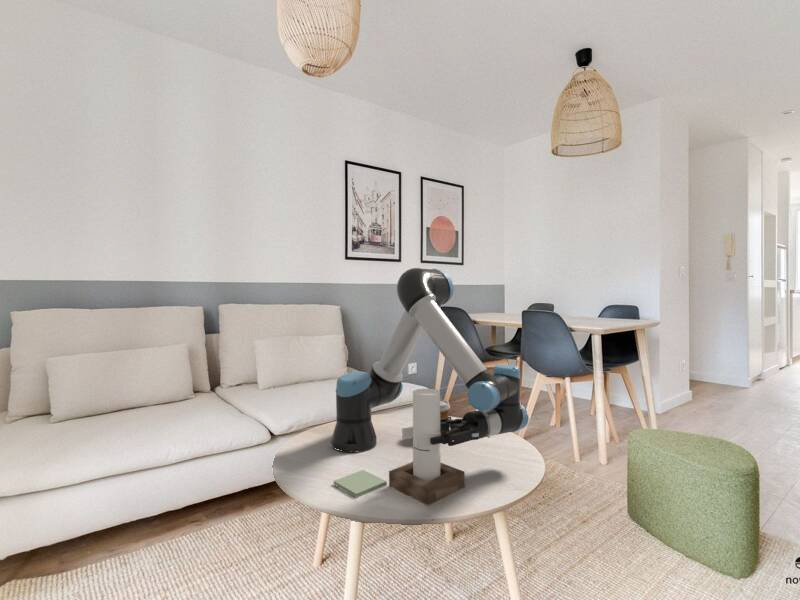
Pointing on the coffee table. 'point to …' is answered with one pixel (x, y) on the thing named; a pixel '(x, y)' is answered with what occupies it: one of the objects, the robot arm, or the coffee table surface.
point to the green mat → (360, 483)
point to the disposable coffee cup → (444, 409)
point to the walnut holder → (427, 483)
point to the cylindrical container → (426, 433)
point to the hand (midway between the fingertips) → (410, 437)
